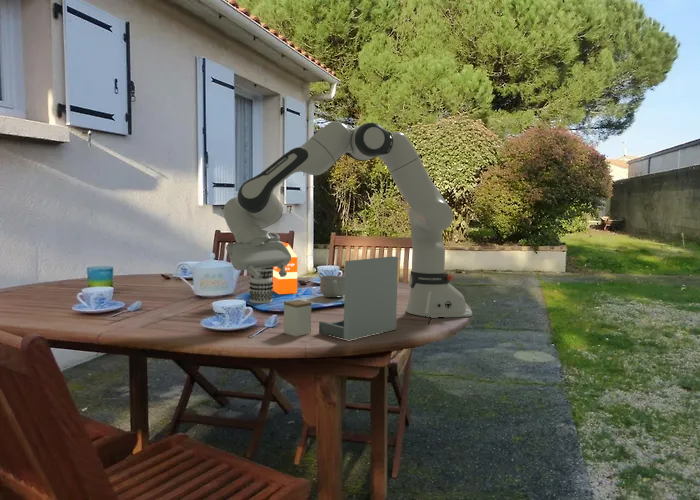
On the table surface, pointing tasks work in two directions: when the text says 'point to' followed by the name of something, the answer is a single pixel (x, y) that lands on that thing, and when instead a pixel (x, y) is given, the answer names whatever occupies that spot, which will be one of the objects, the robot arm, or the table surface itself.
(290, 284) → the orange juice
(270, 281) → the decorative candle
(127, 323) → the table surface
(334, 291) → the teacup
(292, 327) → the grey tea canister
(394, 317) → the wall board
